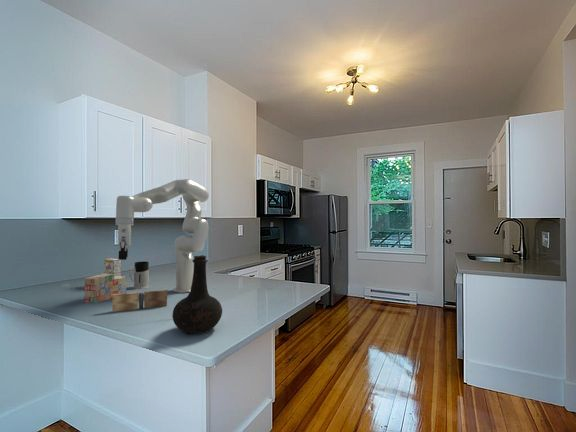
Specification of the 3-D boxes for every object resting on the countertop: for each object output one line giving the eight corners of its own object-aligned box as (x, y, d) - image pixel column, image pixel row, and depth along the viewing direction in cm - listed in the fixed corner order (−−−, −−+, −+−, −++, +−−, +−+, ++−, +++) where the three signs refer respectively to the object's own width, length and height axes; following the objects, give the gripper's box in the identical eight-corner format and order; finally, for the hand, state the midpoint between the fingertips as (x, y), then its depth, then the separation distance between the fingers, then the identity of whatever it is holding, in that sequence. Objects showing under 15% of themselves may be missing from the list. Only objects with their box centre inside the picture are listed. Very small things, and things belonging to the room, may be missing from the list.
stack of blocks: (116, 292, 172) (117, 270, 172) (126, 293, 170) (126, 271, 170) (84, 302, 151) (84, 277, 151) (95, 303, 149) (95, 278, 149)
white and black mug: (152, 286, 187) (152, 261, 187) (136, 291, 173) (136, 265, 173) (140, 285, 189) (140, 261, 189) (122, 290, 175) (123, 264, 175)
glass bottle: (161, 334, 111) (162, 257, 111) (193, 319, 128) (194, 252, 128) (202, 342, 105) (204, 260, 105) (230, 325, 122) (231, 254, 122)
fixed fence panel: (166, 305, 145) (167, 289, 145) (167, 306, 143) (167, 290, 144) (138, 308, 140) (139, 292, 140) (138, 310, 138) (139, 292, 138)
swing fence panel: (138, 308, 140) (138, 292, 140) (138, 309, 138) (138, 292, 138) (112, 311, 135) (112, 294, 135) (111, 312, 134) (112, 295, 134)
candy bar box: (103, 285, 187) (103, 258, 187) (111, 284, 191) (112, 258, 191) (113, 288, 181) (113, 260, 181) (121, 286, 185) (121, 259, 185)
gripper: (133, 222, 138) (131, 260, 138) (134, 222, 154) (132, 256, 153) (114, 221, 135) (112, 260, 135) (117, 221, 151) (115, 256, 150)
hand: (123, 258), depth 144 cm, fingers open, 9 cm apart
